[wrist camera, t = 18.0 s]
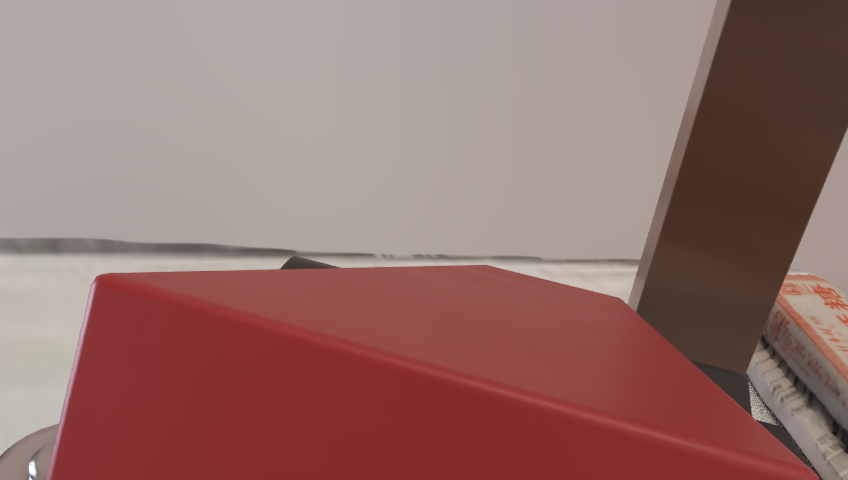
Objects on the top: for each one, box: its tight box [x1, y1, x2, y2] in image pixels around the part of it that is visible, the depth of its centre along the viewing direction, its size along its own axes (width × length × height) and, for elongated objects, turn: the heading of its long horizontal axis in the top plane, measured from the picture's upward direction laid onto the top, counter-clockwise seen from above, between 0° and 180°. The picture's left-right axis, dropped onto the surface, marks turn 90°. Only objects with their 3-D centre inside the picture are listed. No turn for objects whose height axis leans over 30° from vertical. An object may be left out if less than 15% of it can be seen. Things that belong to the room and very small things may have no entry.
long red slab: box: [46, 265, 819, 480], centre depth 14 cm, size 20×4×4 cm
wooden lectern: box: [628, 0, 848, 374], centre depth 31 cm, size 13×11×34 cm
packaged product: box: [746, 274, 848, 480], centre depth 49 cm, size 18×5×10 cm
